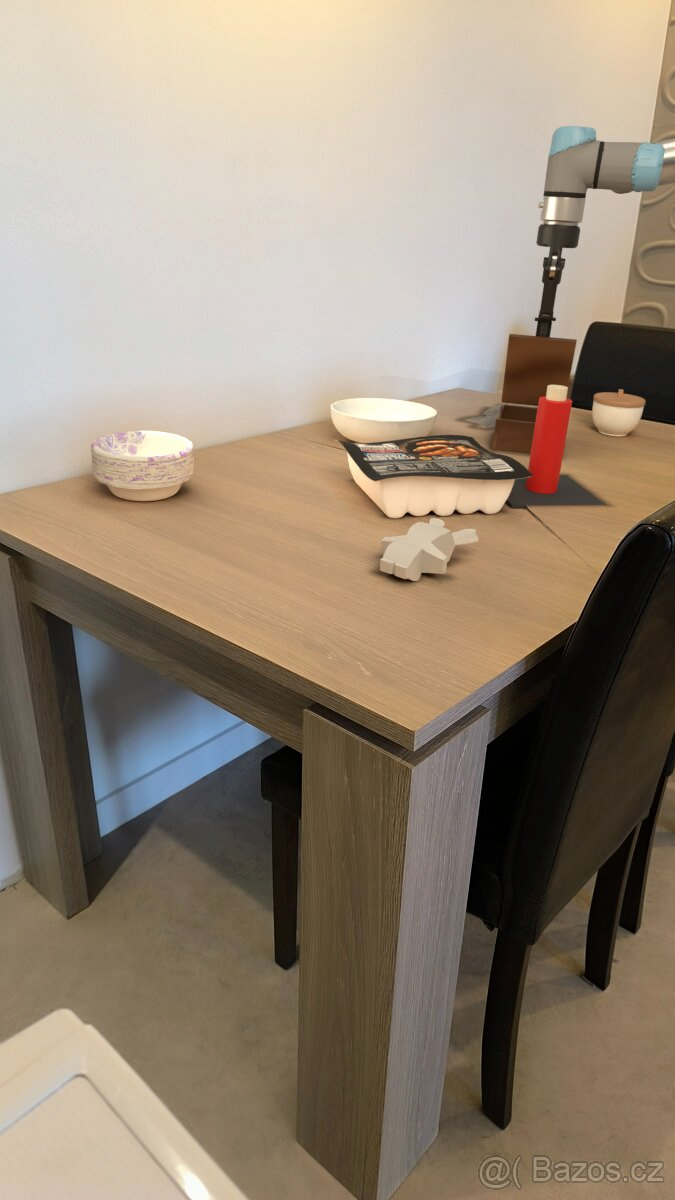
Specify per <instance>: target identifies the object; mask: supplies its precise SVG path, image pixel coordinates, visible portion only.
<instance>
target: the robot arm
mask: <svg viewBox="0 0 675 1200" xmlns="http://www.w3.org/2000/svg"><path fill="white" fill-rule="evenodd" d="M547 157H548V158H547V164H546V172H545V180H544V188H543V195H542V196H543V197H542V200H543V201H541V202H538V204H537V206H538V208H539V209H542V210H541V211H540V217H539V220H540V221H542V224H539V225H538V228H537V234H536V235H537V236H536V245H537V246H538V247H546V248H549V253H548V257H546V256H543V262H542V268H543V271H542V277H541V282H542V284H543V288H542V294H541V301H540V309H539V311H538V316H536V317H534V322H537V325H536V330H535V336H541V337H551V331H552V325H553V322H556V320H557V317H554V309H555V302H556V297H557V296H556V295H557V289H558V285H560V283H561V281H562V275H563V270H564V269H565V265H566V258H563V257H562V252H563V249H576V248H578V245H579V240H580V234H581V228H580V226H579V224H581V223H582V222H583V219H584V212H585V206H586V198H587V191H588V190H589V189H592V190H607V191H611V192H613V193H614V194H618V195H624V194H629V193H632V192H635V193H641V192H655V190H656V189H657V188H658V187H660V186H665V185H671V184H675V137H674V138H669V139H664V140H660V141H654V142H648V141H643V142H633V141H632V142H630V141H629V142H628V141H604V140H597V130H596V129H595V128H593V127H592V126H591V127H590V126H580V125H566V126H565V125H564V126H559V127H557V128H556V129H555V130H554V132H553V133H552V137H551V142H550V147H549V153H548V155H547Z"/></svg>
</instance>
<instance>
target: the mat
mask: <svg viewBox="0 0 675 1200" xmlns="http://www.w3.org/2000/svg"><path fill="white" fill-rule="evenodd" d="M526 480H527V478H522V479H515V481H514V484H513V487H512V490H511V492H510V495H509V497H508V498H507V500H506V501H505V503H506V504H507V506H509V508H510V509H529V507H528V506H607V504H606V503H605V502H603V501H602V500H601V499H599V498H598V497H597V496H596V495H594V494H593V493H591V492H590V491H588V490H587V489H586V488H585V487H583V486H582V485H581V484H579V483H578V482H577V481H575V480H574V479H573V478H571V477H570V476H568V475H567V474H560V475H559V481H558V487H557V491H556V492H555V493H551V494H541V493H535V492H532V491H529V490H527V489H526V487H525V486H526Z"/></svg>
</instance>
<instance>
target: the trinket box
mask: <svg viewBox="0 0 675 1200" xmlns="http://www.w3.org/2000/svg"><path fill="white" fill-rule="evenodd" d="M617 391H618V392H605V391H603V392H597V393H594V394H593V403H592V408H591V409H592V410H591V417H592V422H593V424H594V427H596V429H597V430H598V433H599V434H602V435H604V436H610V437H627V436H628V434H629V433H631V432H632V431H634V430H635V429H636V427H637V426H638V424H639V423H640V421H641V419H642V415H643V412H644V409H645V405H646V399H645V398H643V397H641V396H638V395H634V394H628V393H624V392H625V390H624V389H622V388H621V389H620V388H619V389H618V390H617Z"/></svg>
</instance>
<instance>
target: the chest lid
mask: <svg viewBox="0 0 675 1200" xmlns="http://www.w3.org/2000/svg"><path fill="white" fill-rule="evenodd" d="M577 342H578V340H577V339H575V338H562V337H551V336H550V337H541V336H536V335H527V334H516V333H509V335H508V342H507V350H506V357H505V358H506V359H505V367H504V376H503V377H504V378H503V383H502V392H501V400H500V401H501V402H500V403H501V404H507V403H508V404H511V405H520V406H530V407H538V403H539V398H540V397H542V396H546V393H547V387H548V385H561V386H566V387H568V388H569V385H570V384H569V383H570V380H571V379H570V378H571V373H572V369H573V363H574V357H575V351H576V349H577Z"/></svg>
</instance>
